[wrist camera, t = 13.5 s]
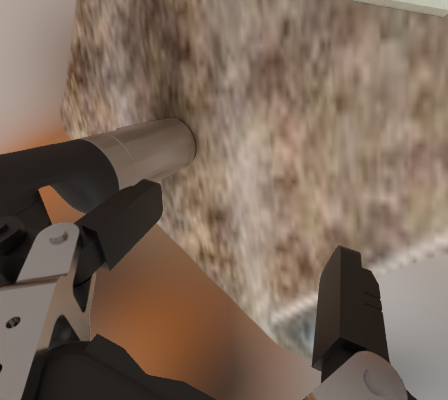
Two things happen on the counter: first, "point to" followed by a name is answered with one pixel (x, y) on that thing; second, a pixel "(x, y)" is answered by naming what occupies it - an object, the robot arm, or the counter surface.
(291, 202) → the counter surface
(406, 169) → the counter surface
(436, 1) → the tray
